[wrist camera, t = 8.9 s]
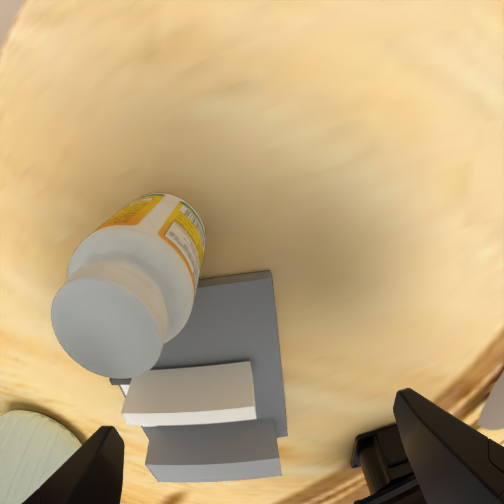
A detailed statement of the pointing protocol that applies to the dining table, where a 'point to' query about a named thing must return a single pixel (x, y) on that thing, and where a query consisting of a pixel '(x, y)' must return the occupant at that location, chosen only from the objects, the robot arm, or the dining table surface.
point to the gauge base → (216, 353)
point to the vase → (30, 452)
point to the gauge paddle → (190, 395)
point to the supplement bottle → (131, 286)
